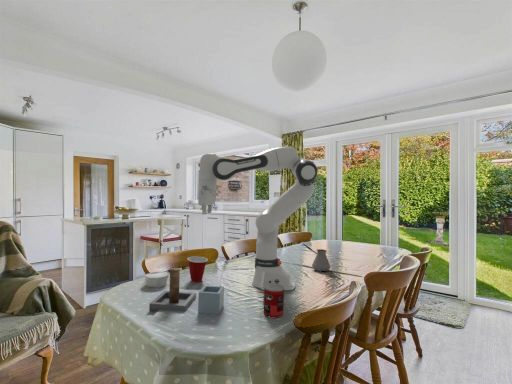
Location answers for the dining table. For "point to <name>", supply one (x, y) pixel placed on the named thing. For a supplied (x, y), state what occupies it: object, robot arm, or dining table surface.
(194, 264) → the plastic cup
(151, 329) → the dining table surface
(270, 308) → the canned food
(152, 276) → the ramekin
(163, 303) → the tray
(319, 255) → the coffee pot
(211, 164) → the robot arm
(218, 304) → the grey square bin
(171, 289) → the walnut dowel
